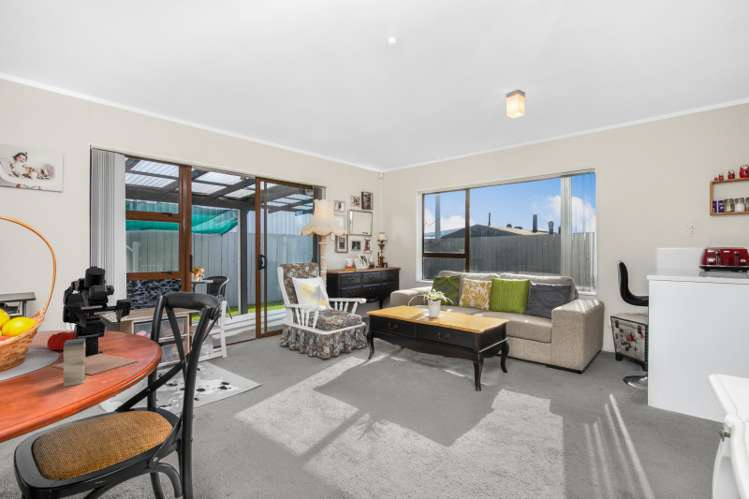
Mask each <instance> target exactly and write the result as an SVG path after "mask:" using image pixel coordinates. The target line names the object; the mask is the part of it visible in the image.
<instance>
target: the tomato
mask: <svg viewBox="0 0 749 499" xmlns="http://www.w3.org/2000/svg"><path fill="white" fill-rule="evenodd" d="M73 332H74V331H61V332H58V333H54V334H53V333H52V335H50V336H49V338H48V339H47V343H46V345H47V347H48V350H51V351H64V343H65V342H66V340H74V339H73Z"/></svg>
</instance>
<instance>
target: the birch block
mask: <svg viewBox="0 0 749 499" xmlns="http://www.w3.org/2000/svg"><path fill="white" fill-rule="evenodd" d="M63 363H64V369H63V387H67V386H69V387H70V386H73V385H74V386H75V385H80V384H84V382H85V380H86V374H85V339H75V340H66V342H65V343H64V350H63Z"/></svg>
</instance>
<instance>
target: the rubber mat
mask: <svg viewBox="0 0 749 499" xmlns="http://www.w3.org/2000/svg"><path fill="white" fill-rule="evenodd" d="M136 363H139V360H137V359H132V358H126V357H123V356H122V357H121V356H116V355H111V354H105V353H100V354H96V355H92V356H88V357H85V375H88V376H91V377H92V376H94V375H99V374H102V373H105V372H108V371H109V372H110V371H112V370H115V369H119V368H122V367H125V366H129V365H133V364H136ZM52 367H53V368H56V369H62V370H64V362H61V363H58V364H53V365H52Z"/></svg>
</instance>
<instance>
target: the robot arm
mask: <svg viewBox="0 0 749 499" xmlns="http://www.w3.org/2000/svg"><path fill="white" fill-rule="evenodd" d="M106 271H107V270H106V269H104V268H103V267H98V266H97V265H94V266H93V265H92V266H91V265H90V267H88V268H86V269H85V272H84V273H85V274H84V277H81V278H80V277H79V278H78V279H76V280H73V281H71V282H70V286H68V287H67V289H65V290H64V291H63V296H62V297H63V298H62V304H63V307H62V318H61V319H62V323H64V324H74V328H73V331H72V332H73V339H74V340H75V339H85V357H88V356H92V355H96V354H100V353H101V354H104V353H103V351H101V350H99V338H104V337H105V332H106V331H105V330H106V324H105V322H104V320H102V319H101V315H106V314H114V313H115V319H116V321H117V323H118V324H121V320H122V319H123V318H126V317H127V316H129V315H131V314H130V313H131V307H132V302H131V300H130V299H129V298H124V299H123V298H122V299H117V300H116V302H115V305H108V303H109V298H108V297H110V296H114V294H115V287H114V285H113V284H111V285H110V284H108V285H107V280H106V279H105V278H106ZM75 291H76V292H75Z"/></svg>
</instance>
